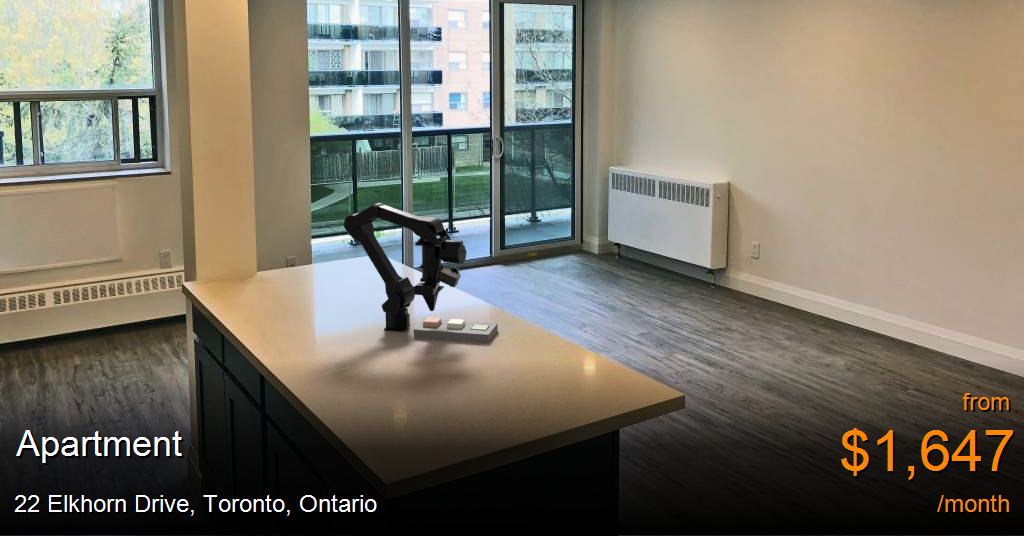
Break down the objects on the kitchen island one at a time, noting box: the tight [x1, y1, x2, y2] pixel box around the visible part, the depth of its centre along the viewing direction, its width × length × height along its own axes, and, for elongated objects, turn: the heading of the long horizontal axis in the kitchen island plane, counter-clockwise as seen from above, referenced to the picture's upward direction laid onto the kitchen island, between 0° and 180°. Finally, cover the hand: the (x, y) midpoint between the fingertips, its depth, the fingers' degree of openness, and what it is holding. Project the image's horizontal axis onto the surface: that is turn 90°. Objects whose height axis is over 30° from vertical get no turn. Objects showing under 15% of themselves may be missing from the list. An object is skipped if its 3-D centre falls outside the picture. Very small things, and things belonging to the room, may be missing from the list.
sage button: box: [471, 325, 489, 331], centre depth 285 cm, size 4×4×2 cm
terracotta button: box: [422, 316, 442, 327], centre depth 288 cm, size 4×4×2 cm
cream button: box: [447, 318, 466, 329], centre depth 286 cm, size 4×4×2 cm
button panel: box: [413, 317, 499, 344], centre depth 286 cm, size 23×12×2 cm, turn 78°
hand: (432, 310), depth 287 cm, fingers closed
